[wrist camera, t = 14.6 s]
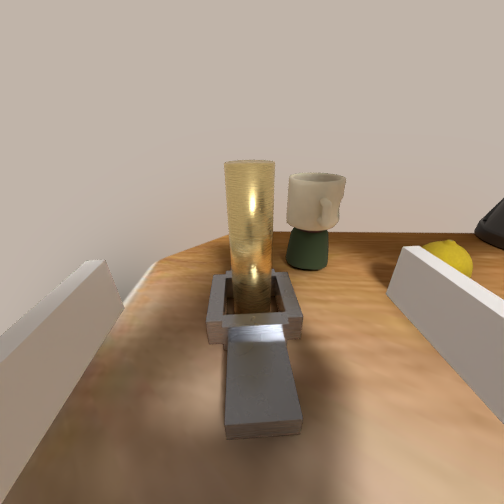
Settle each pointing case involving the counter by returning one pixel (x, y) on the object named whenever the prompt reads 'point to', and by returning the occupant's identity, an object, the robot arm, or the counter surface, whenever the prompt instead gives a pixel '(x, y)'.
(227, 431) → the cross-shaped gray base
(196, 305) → the counter surface
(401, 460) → the counter surface
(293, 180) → the character mug
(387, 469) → the counter surface
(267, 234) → the link pin
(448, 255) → the lemon
